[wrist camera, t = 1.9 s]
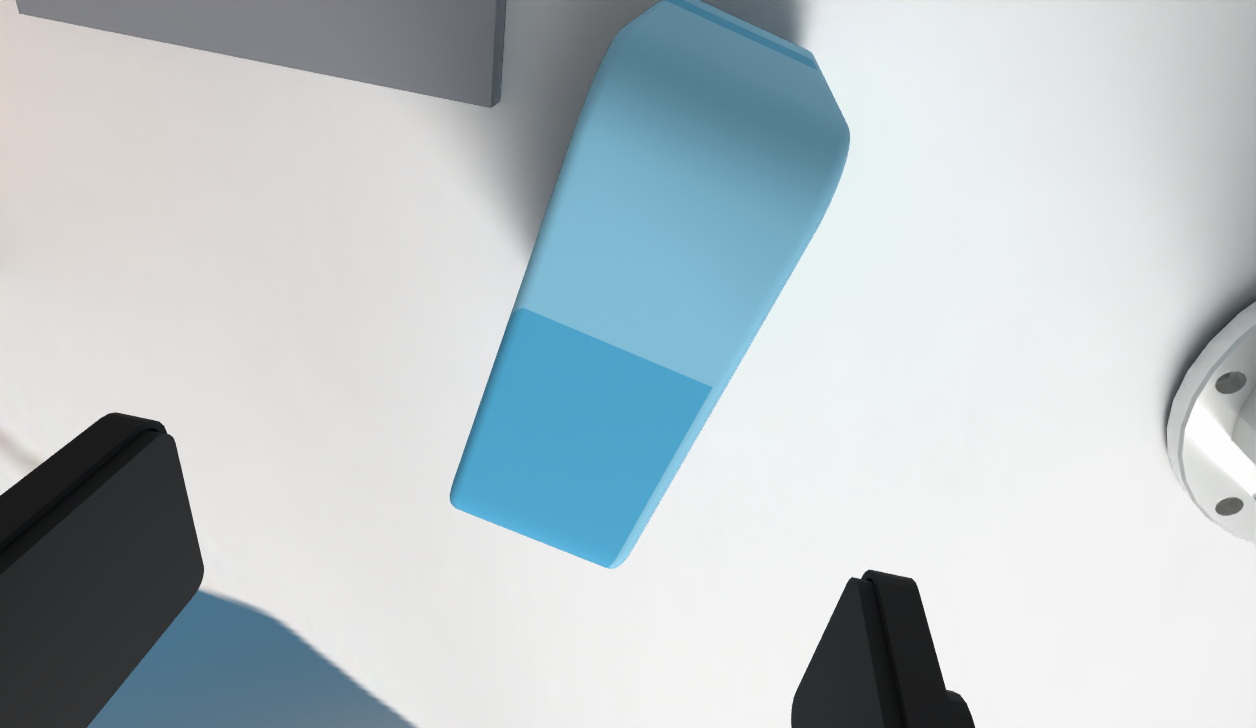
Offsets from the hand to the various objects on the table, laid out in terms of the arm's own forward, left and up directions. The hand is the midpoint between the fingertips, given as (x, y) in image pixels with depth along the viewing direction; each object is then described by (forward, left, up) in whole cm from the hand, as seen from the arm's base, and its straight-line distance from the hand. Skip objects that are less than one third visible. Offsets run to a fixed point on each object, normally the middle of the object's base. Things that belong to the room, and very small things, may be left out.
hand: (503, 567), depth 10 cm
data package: (-1, 0, -17) cm, 17 cm away
